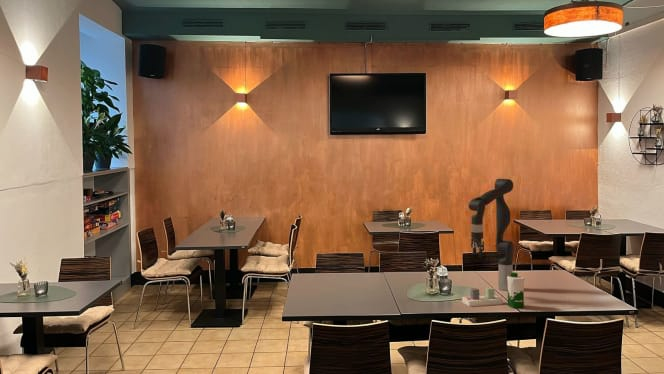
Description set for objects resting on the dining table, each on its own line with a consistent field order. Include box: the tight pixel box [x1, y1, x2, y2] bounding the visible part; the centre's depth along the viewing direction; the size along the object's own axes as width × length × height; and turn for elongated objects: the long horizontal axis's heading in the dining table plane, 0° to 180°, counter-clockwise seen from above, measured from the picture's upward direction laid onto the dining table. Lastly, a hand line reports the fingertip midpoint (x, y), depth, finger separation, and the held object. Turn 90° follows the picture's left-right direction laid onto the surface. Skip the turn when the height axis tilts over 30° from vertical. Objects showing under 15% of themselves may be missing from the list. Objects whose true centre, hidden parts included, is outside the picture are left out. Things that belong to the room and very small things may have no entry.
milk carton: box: [507, 272, 525, 309], centre depth 340 cm, size 9×9×20 cm
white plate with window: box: [461, 287, 504, 307], centre depth 350 cm, size 22×11×9 cm, turn 99°
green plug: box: [485, 286, 495, 299], centre depth 351 cm, size 4×4×9 cm
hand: (477, 255), depth 364 cm, fingers open, 8 cm apart
